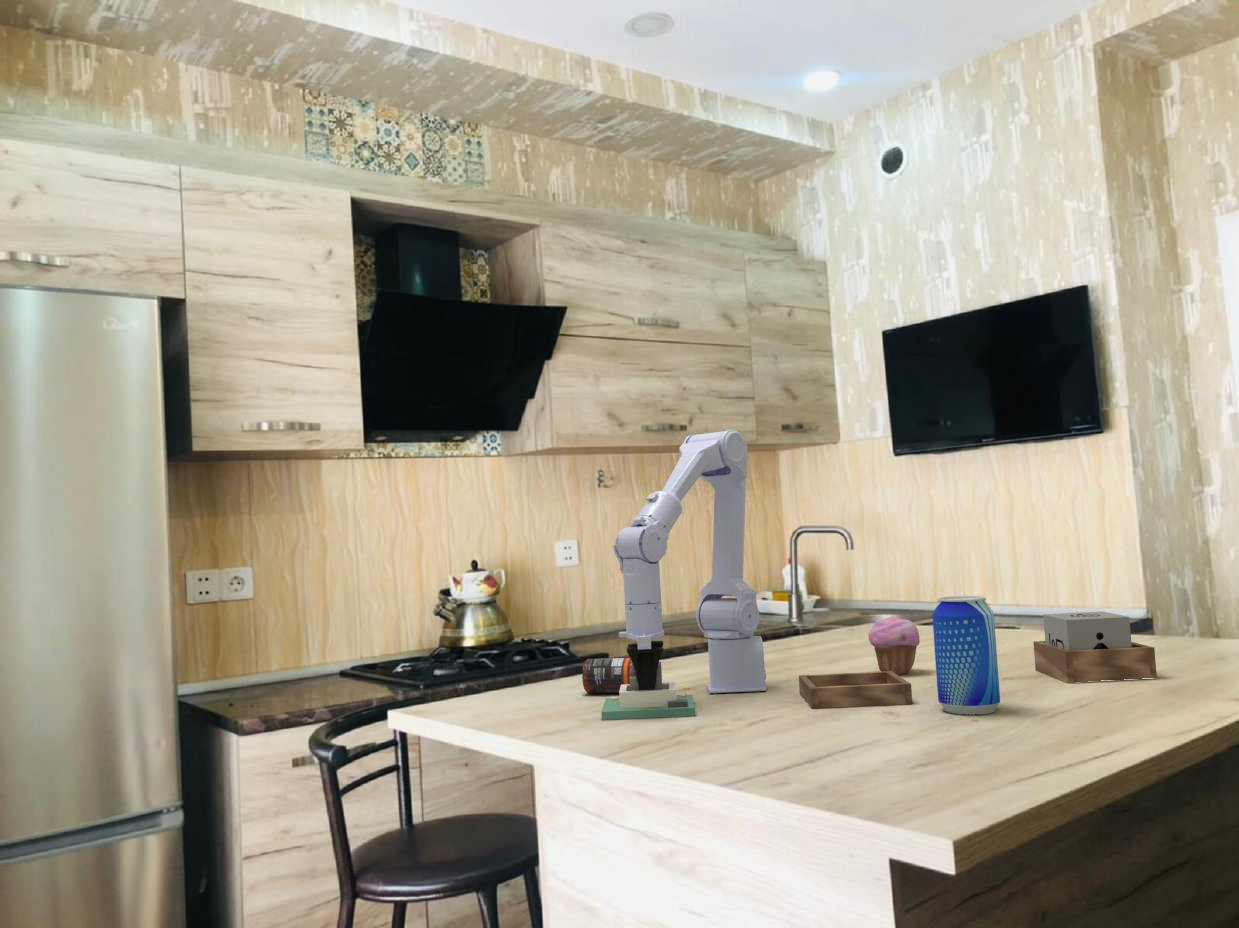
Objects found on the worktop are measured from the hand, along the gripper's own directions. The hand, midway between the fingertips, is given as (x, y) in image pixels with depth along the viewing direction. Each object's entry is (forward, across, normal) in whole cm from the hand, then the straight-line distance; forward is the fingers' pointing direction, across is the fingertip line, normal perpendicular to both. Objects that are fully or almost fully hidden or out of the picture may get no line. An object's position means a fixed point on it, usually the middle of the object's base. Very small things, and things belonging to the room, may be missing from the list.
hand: (647, 690), depth 158 cm
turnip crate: (+3, -2, +32) cm, 32 cm away
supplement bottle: (0, -19, -11) cm, 22 cm away
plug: (+2, 0, 0) cm, 2 cm away
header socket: (+2, 0, 0) cm, 2 cm away
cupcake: (+3, -25, +44) cm, 51 cm away
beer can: (+3, +11, +46) cm, 47 cm away
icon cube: (+3, -13, +73) cm, 74 cm away
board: (+3, 0, 0) cm, 3 cm away
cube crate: (+3, -14, +74) cm, 75 cm away
